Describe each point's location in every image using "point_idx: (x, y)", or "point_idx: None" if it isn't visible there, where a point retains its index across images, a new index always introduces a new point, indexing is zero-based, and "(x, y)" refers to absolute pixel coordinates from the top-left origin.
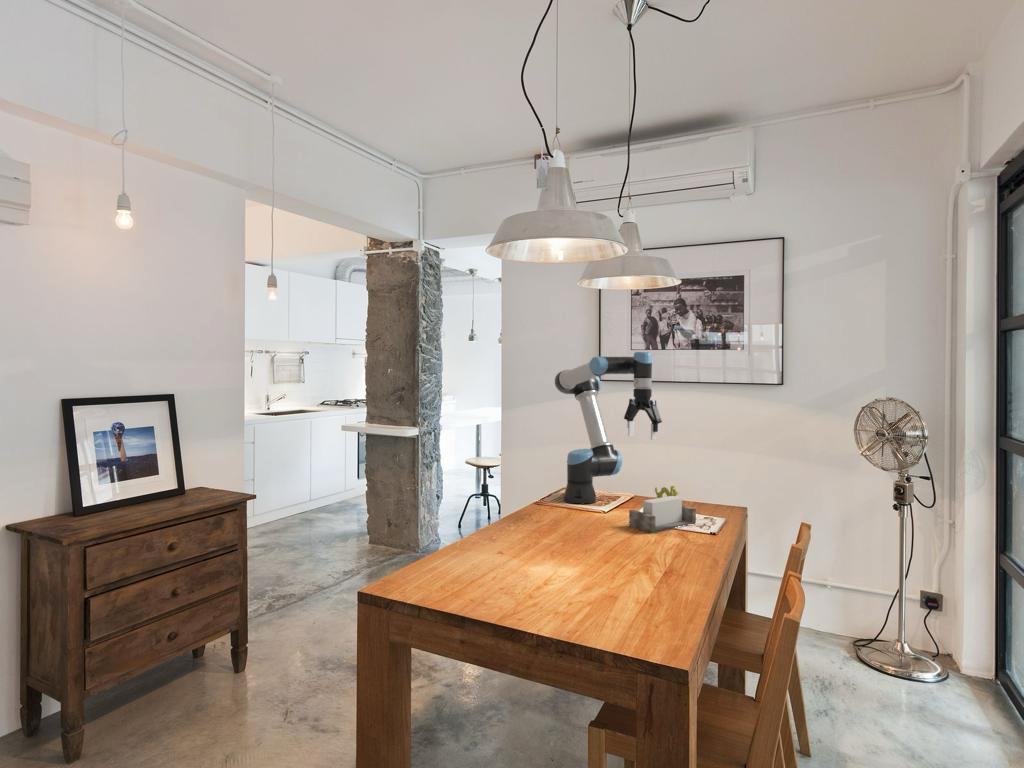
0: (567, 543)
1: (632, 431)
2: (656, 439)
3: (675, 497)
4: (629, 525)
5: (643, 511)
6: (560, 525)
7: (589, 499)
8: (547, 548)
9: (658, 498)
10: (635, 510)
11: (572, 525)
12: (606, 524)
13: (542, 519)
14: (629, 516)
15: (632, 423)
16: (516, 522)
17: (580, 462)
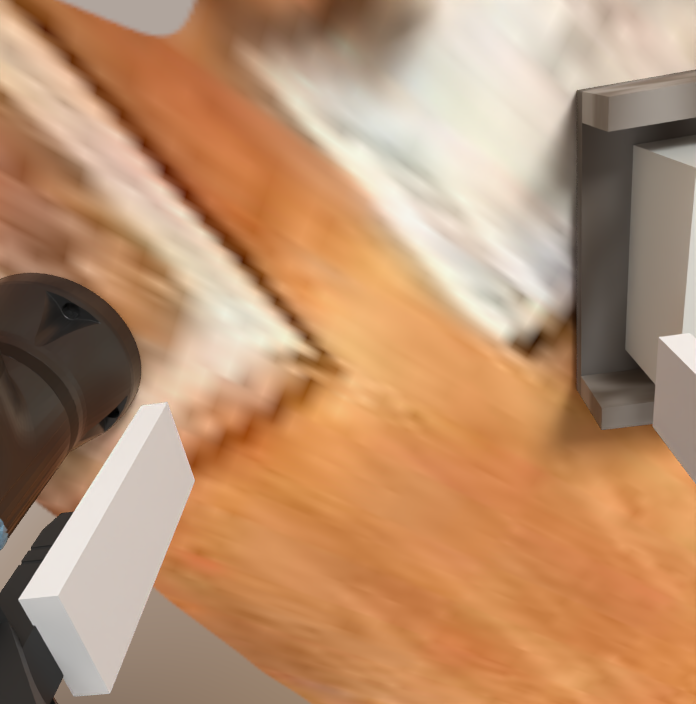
0: (625, 648)
1: (155, 478)
2: (690, 339)
3: None
4: (578, 390)
5: (652, 378)
6: (431, 590)
7: (130, 359)
8: (631, 700)
9: (693, 303)
10: (622, 408)
11: (451, 559)
12: (504, 454)
13: (329, 606)
14: (592, 412)
15: (97, 591)
16: (332, 676)
17: (6, 537)
